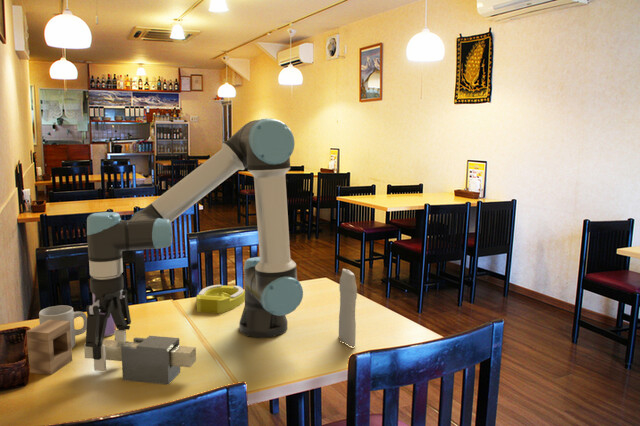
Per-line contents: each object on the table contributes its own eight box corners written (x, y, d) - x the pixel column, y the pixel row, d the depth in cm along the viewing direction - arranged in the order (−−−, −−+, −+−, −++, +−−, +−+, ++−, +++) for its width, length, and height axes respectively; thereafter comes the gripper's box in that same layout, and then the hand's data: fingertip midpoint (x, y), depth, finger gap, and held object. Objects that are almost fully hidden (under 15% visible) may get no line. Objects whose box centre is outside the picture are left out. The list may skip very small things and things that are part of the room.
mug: (43, 356, 129) (40, 318, 127) (39, 345, 136) (37, 308, 134) (91, 346, 136) (89, 309, 134) (85, 336, 143) (83, 301, 141)
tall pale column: (333, 335, 146) (334, 266, 142) (345, 334, 147) (347, 265, 144) (347, 350, 136) (349, 275, 133) (360, 348, 137) (362, 274, 134)
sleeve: (180, 372, 121) (179, 338, 120) (168, 384, 115) (167, 348, 114) (136, 368, 123) (135, 334, 122) (122, 380, 117) (121, 344, 116)
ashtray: (186, 311, 165) (186, 298, 165) (209, 293, 186) (209, 281, 185) (231, 315, 163) (231, 301, 162) (250, 296, 183) (250, 283, 182)
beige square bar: (196, 360, 119) (195, 347, 118) (189, 367, 115) (189, 353, 115) (93, 351, 123) (92, 338, 122) (84, 357, 119) (83, 344, 119)
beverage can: (108, 338, 141) (105, 289, 139) (90, 336, 143) (87, 288, 140) (120, 330, 147) (118, 284, 145) (103, 329, 148) (100, 282, 146)
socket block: (72, 360, 127) (69, 321, 125) (51, 374, 119) (48, 333, 118) (52, 358, 128) (49, 319, 126) (29, 372, 120) (26, 331, 118)
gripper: (117, 263, 128) (121, 343, 131) (63, 286, 107) (69, 380, 111) (143, 265, 127) (146, 345, 130) (93, 289, 106) (99, 383, 110)
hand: (111, 361), depth 120 cm, fingers open, 8 cm apart
